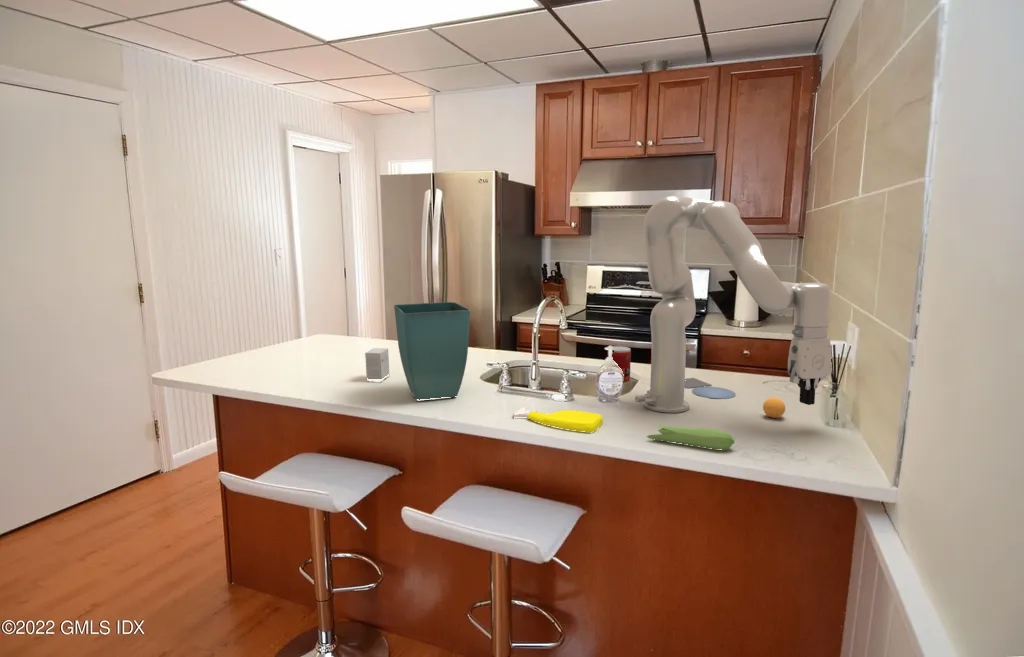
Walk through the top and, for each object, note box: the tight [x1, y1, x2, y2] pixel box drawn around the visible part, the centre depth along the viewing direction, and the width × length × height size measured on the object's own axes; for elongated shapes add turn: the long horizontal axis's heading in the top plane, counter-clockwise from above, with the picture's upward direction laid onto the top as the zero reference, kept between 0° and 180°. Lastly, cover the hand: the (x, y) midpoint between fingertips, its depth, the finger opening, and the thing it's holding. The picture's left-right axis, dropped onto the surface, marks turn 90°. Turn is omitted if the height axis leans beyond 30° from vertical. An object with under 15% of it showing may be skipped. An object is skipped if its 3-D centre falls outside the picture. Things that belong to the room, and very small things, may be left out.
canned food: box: [606, 345, 632, 383], centre depth 191 cm, size 8×8×11 cm
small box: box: [364, 347, 390, 379], centre depth 194 cm, size 8×6×10 cm
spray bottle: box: [512, 406, 604, 432], centre depth 150 cm, size 3×11×24 cm
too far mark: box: [684, 377, 713, 389], centre depth 186 cm, size 10×10×1 cm
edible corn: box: [646, 424, 736, 451], centre depth 133 cm, size 5×20×5 cm
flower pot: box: [393, 301, 471, 400], centre depth 173 cm, size 20×20×28 cm
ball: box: [762, 397, 786, 419], centre depth 151 cm, size 6×6×6 cm
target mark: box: [691, 386, 737, 400], centre depth 175 cm, size 13×13×1 cm
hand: (806, 403), depth 141 cm, fingers closed
